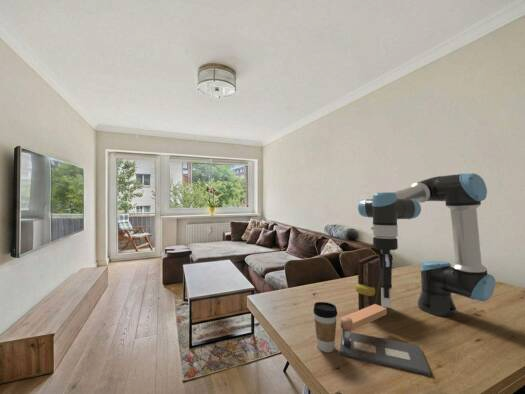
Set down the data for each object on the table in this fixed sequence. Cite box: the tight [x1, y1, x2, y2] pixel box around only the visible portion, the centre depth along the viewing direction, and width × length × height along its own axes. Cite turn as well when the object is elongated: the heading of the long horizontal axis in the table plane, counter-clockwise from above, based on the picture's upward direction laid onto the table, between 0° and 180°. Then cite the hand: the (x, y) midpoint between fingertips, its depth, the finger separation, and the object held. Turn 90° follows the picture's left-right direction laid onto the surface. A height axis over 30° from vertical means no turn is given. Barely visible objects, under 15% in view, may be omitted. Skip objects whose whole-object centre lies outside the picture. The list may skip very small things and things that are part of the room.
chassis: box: [339, 328, 431, 377], centre depth 81 cm, size 26×14×7 cm, turn 67°
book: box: [355, 254, 387, 311], centre depth 112 cm, size 22×8×25 cm, turn 134°
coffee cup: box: [313, 301, 338, 353], centre depth 84 cm, size 8×8×15 cm
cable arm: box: [339, 304, 388, 331], centre depth 89 cm, size 24×5×3 cm, turn 122°
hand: (386, 306), depth 79 cm, fingers closed
